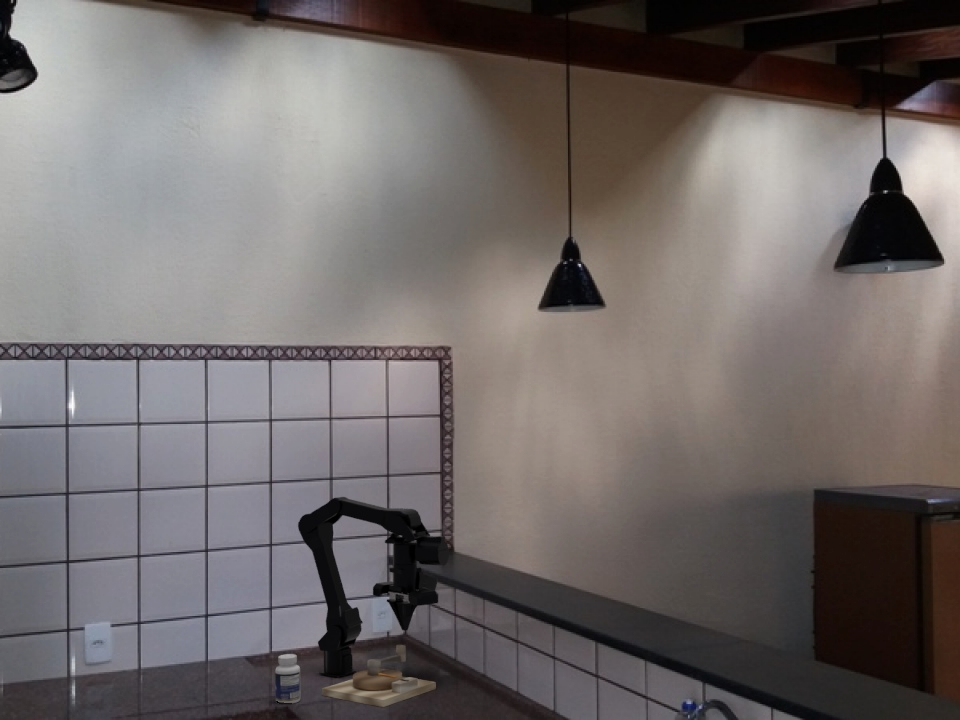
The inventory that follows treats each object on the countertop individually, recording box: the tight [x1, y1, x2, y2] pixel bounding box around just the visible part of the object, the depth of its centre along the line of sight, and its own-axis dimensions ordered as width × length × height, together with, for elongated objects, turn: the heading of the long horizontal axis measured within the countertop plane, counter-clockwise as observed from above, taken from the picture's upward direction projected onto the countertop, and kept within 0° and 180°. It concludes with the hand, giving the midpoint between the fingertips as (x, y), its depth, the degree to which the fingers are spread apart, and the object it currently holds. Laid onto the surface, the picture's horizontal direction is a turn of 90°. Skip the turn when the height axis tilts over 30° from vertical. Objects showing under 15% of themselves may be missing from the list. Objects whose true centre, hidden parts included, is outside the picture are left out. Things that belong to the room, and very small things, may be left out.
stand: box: [321, 675, 437, 708], centre depth 238 cm, size 18×18×4 cm
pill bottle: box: [274, 653, 301, 704], centre depth 232 cm, size 5×5×10 cm
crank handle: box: [352, 644, 407, 690], centre depth 240 cm, size 11×16×7 cm
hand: (404, 630), depth 248 cm, fingers closed
